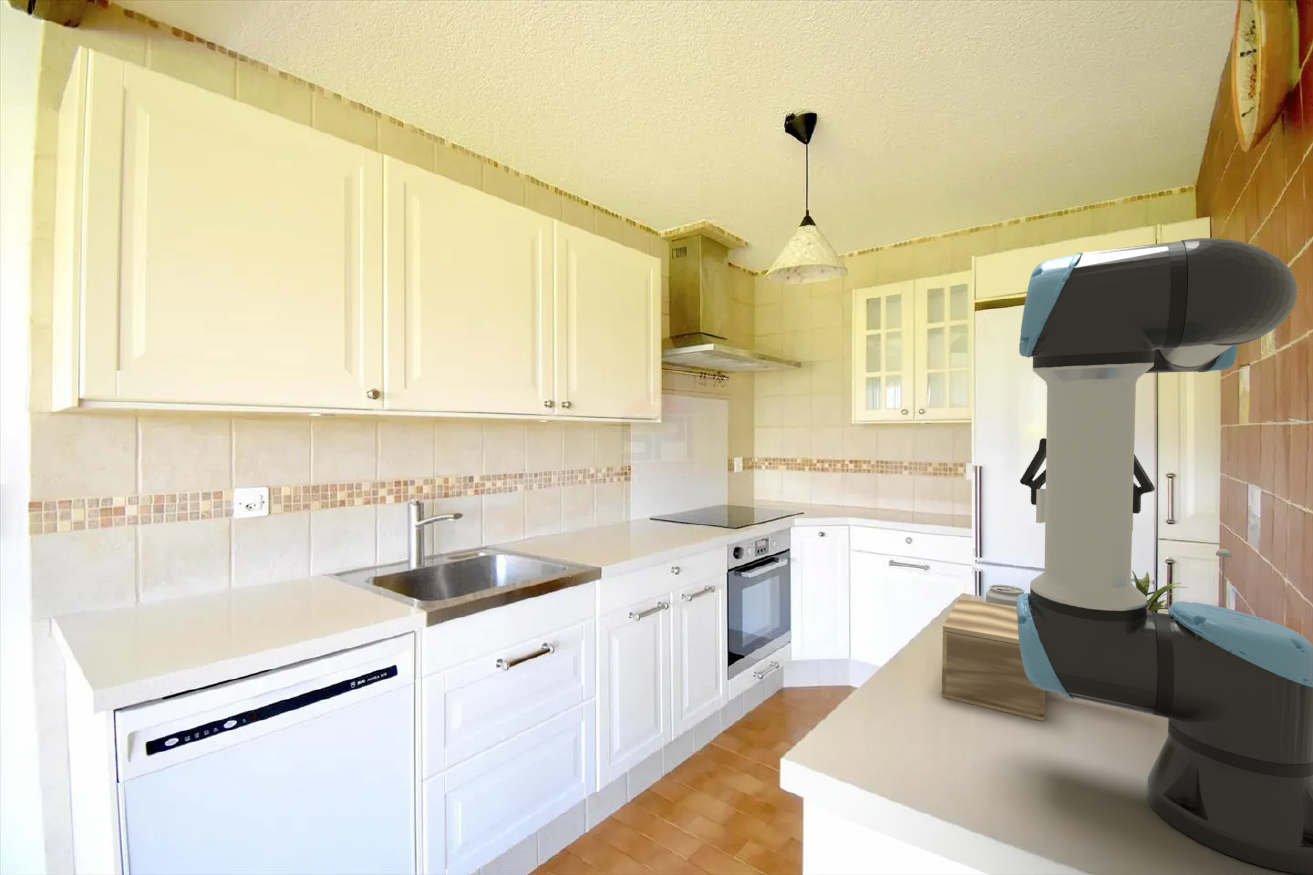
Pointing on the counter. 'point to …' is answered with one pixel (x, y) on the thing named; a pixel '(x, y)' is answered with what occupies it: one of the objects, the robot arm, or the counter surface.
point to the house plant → (1144, 588)
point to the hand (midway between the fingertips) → (1082, 527)
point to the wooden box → (989, 675)
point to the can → (1003, 595)
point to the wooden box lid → (984, 620)
